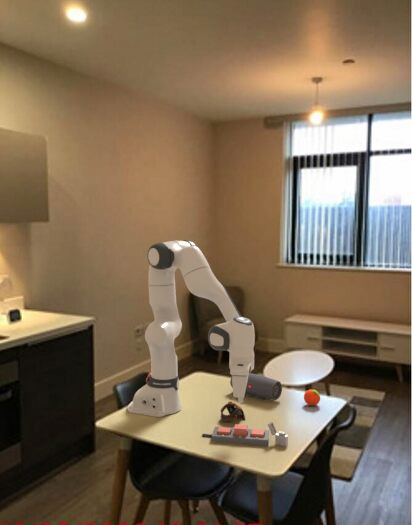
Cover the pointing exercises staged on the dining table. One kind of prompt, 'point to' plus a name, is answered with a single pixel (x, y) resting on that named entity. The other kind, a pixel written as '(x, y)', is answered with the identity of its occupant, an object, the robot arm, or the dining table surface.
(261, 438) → the power strip
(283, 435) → the lighter
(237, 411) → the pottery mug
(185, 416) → the dining table surface
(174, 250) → the robot arm
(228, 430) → the button
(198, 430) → the dining table surface
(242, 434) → the button
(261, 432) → the button
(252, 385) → the bluetooth speaker
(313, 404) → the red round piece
